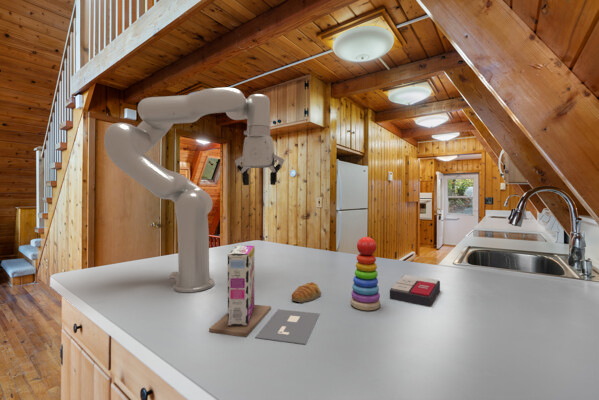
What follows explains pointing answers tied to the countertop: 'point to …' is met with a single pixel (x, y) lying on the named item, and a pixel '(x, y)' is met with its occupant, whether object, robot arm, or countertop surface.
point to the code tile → (289, 326)
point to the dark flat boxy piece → (415, 290)
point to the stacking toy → (365, 277)
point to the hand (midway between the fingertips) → (259, 184)
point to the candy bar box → (240, 285)
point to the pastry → (306, 292)
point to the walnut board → (243, 331)
